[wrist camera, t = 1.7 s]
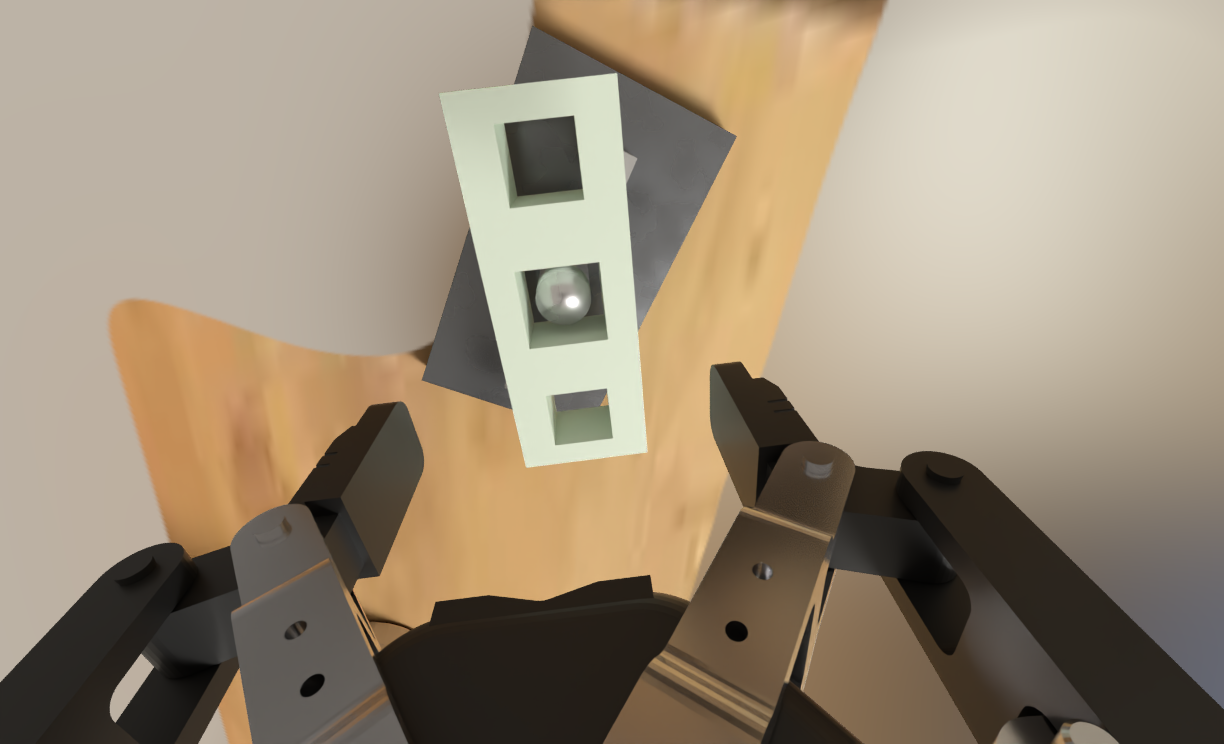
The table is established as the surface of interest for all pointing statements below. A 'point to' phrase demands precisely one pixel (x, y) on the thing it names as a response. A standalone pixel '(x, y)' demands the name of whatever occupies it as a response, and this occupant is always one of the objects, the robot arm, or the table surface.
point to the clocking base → (549, 162)
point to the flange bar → (555, 265)
